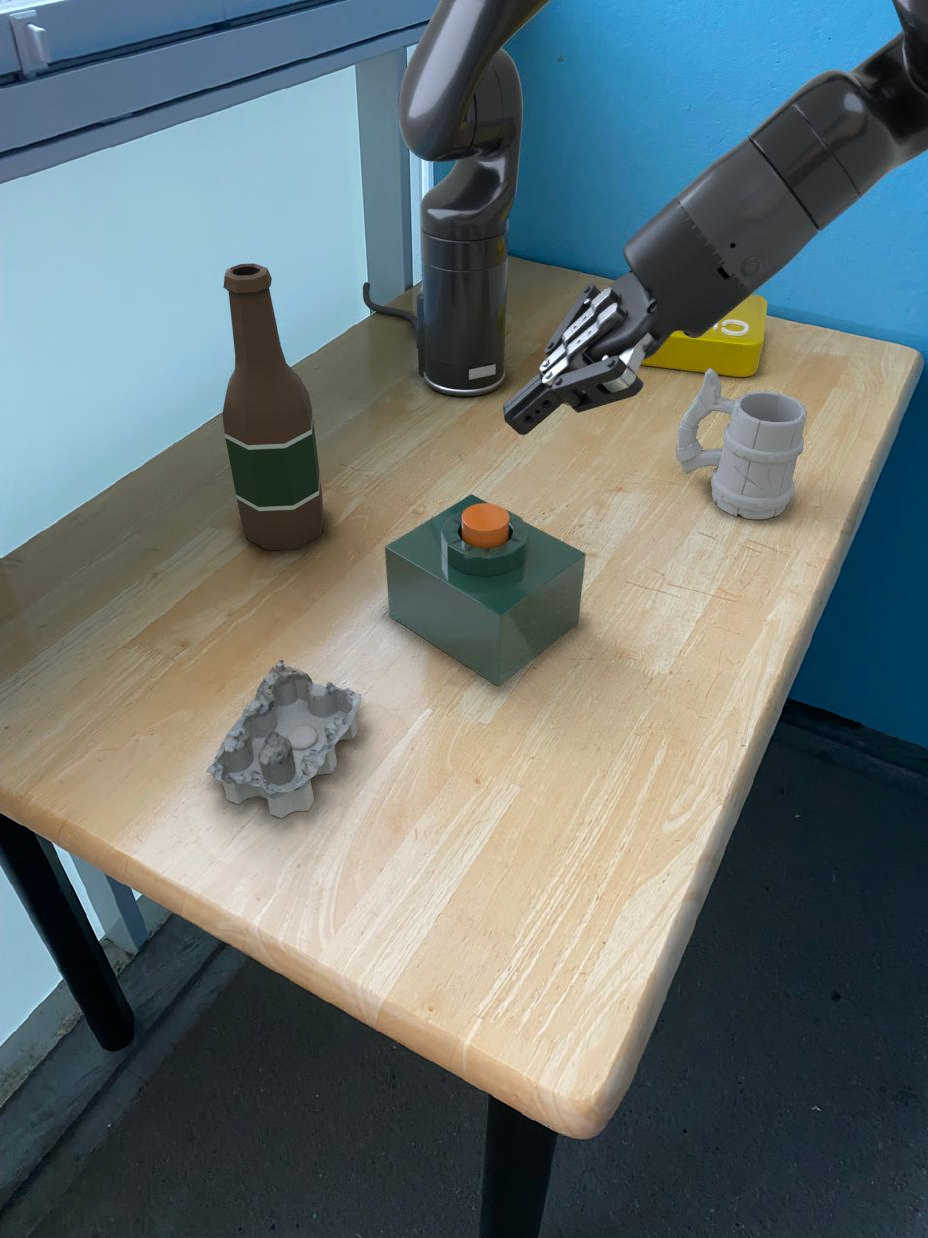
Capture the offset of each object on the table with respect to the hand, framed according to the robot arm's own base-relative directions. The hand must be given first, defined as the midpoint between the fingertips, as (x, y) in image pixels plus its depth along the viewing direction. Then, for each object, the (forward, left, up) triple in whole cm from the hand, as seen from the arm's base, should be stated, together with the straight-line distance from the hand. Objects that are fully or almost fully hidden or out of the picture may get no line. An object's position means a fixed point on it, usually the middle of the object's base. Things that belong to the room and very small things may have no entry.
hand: (511, 422), depth 65 cm
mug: (+4, +29, -18) cm, 34 cm away
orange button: (-1, -1, -10) cm, 10 cm away
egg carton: (-1, -21, -18) cm, 28 cm away
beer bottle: (-23, -4, -18) cm, 30 cm away
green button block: (-1, -1, -18) cm, 18 cm away
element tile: (-16, +55, -18) cm, 60 cm away
